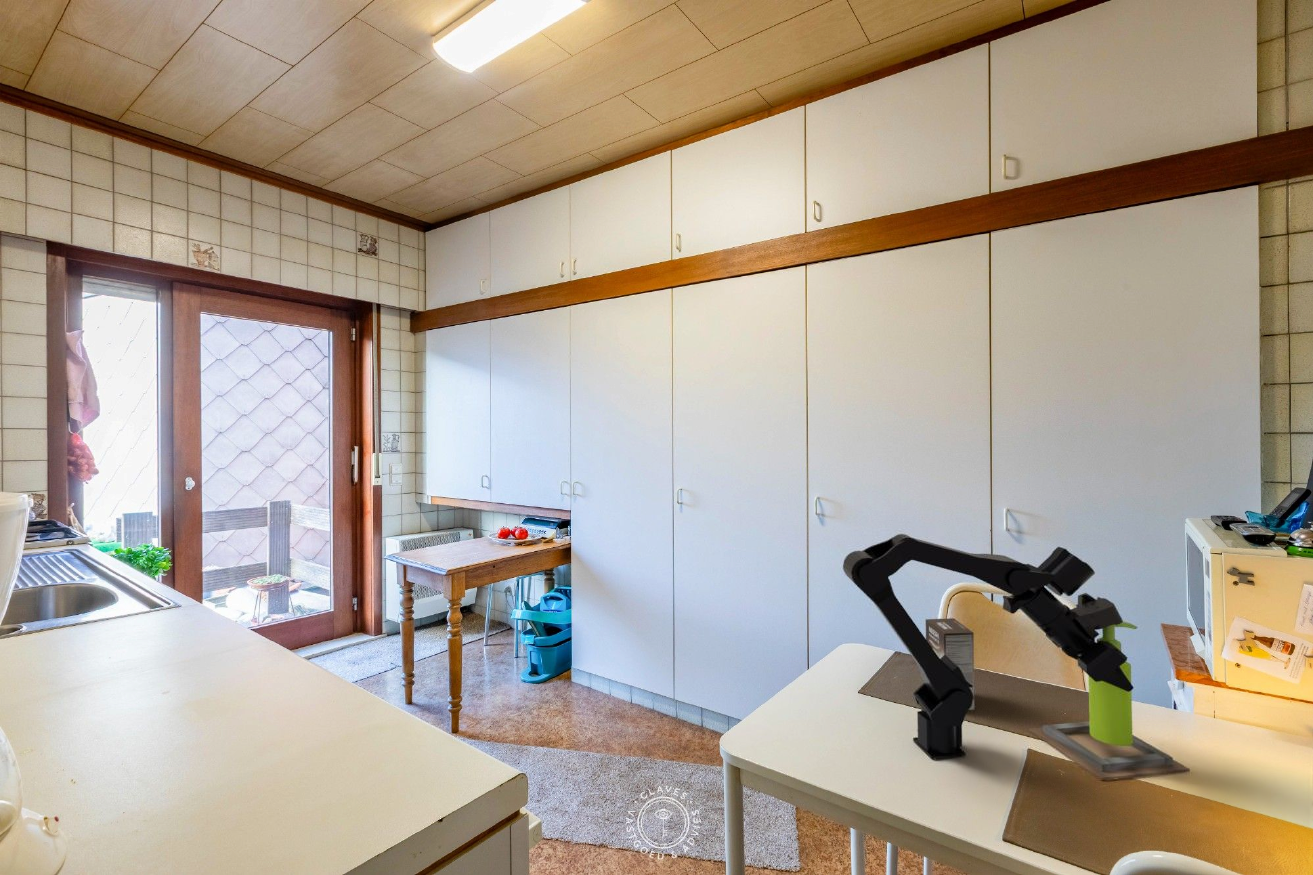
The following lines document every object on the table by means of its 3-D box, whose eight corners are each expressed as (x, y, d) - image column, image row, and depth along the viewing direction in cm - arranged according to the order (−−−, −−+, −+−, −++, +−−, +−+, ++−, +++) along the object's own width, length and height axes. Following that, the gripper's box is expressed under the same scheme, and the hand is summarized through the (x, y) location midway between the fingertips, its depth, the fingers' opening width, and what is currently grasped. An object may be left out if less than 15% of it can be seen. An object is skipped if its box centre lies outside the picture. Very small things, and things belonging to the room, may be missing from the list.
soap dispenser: (1147, 748, 99) (1144, 627, 99) (1099, 744, 101) (1097, 625, 101) (1128, 731, 105) (1125, 617, 105) (1083, 728, 106) (1081, 615, 107)
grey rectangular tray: (1101, 780, 97) (1101, 770, 97) (1029, 731, 113) (1029, 722, 113) (1190, 771, 98) (1189, 761, 98) (1106, 724, 114) (1106, 715, 114)
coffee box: (925, 691, 130) (923, 618, 130) (954, 690, 130) (953, 617, 130) (944, 711, 121) (943, 632, 121) (976, 710, 121) (975, 631, 121)
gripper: (1112, 598, 95) (1195, 674, 92) (1064, 570, 113) (1133, 633, 110) (1055, 644, 97) (1135, 719, 94) (1017, 609, 115) (1083, 671, 112)
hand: (1122, 682), depth 103 cm, fingers closed on soap dispenser, 6 cm apart
